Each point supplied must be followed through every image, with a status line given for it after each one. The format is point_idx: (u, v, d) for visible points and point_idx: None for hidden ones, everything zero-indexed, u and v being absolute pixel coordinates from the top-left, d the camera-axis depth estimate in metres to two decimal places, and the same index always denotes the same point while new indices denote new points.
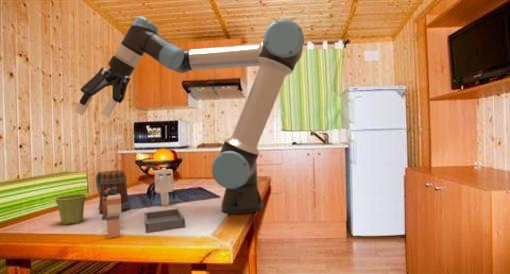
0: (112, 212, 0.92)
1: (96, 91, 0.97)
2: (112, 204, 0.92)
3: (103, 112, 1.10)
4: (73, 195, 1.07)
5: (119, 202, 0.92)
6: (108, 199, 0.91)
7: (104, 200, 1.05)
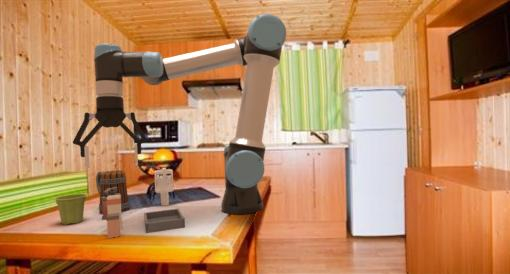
0: (112, 212, 0.92)
1: (87, 138, 0.90)
2: (112, 204, 0.92)
3: None
4: (73, 195, 1.07)
5: (119, 202, 0.92)
6: (108, 199, 0.91)
7: (104, 200, 1.05)
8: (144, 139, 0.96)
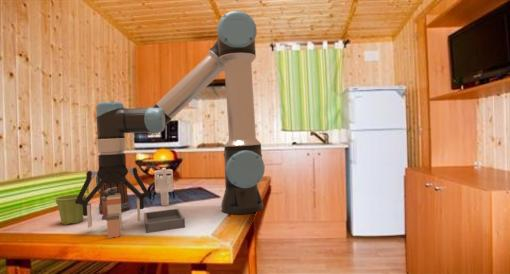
0: (112, 212, 0.92)
1: (89, 196, 0.90)
2: (112, 204, 0.92)
3: None
4: (73, 195, 1.07)
5: (119, 202, 0.92)
6: (108, 199, 0.91)
7: (104, 200, 1.05)
8: (146, 194, 0.96)
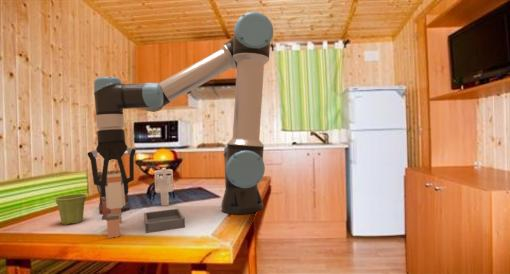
0: (112, 190, 0.92)
1: (103, 177, 0.91)
2: (112, 182, 0.92)
3: None
4: (73, 195, 1.07)
5: (119, 180, 0.92)
6: (108, 177, 0.91)
7: (104, 200, 1.05)
8: (131, 178, 0.94)
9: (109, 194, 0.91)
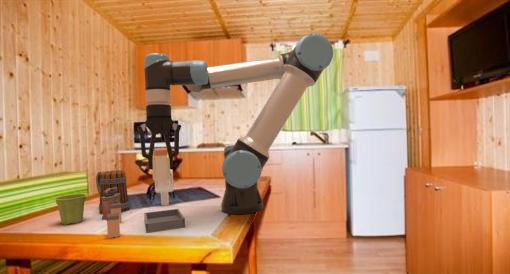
0: (159, 163, 0.95)
1: (151, 150, 0.95)
2: (159, 155, 0.95)
3: None
4: (73, 195, 1.07)
5: (166, 153, 0.96)
6: (156, 150, 0.95)
7: (104, 200, 1.05)
8: (176, 153, 0.97)
9: (156, 166, 0.95)
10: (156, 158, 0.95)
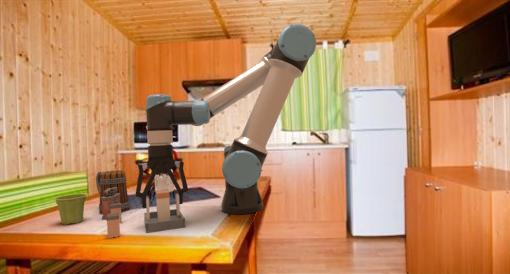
0: (161, 205, 0.95)
1: (146, 189, 0.94)
2: (162, 198, 0.95)
3: (176, 211, 0.99)
4: (73, 195, 1.07)
5: (168, 196, 0.96)
6: (158, 193, 0.95)
7: (104, 200, 1.05)
8: (186, 189, 0.98)
9: (158, 209, 0.95)
10: (158, 201, 0.95)
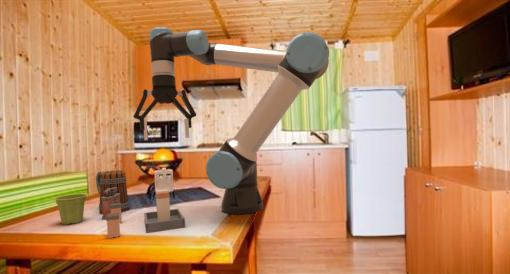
0: (161, 205, 0.95)
1: (146, 112, 1.00)
2: (162, 198, 0.95)
3: (185, 135, 1.07)
4: (73, 195, 1.07)
5: (168, 196, 0.96)
6: (158, 193, 0.95)
7: (104, 200, 1.05)
8: (194, 114, 1.07)
9: (158, 209, 0.95)
10: (158, 201, 0.95)
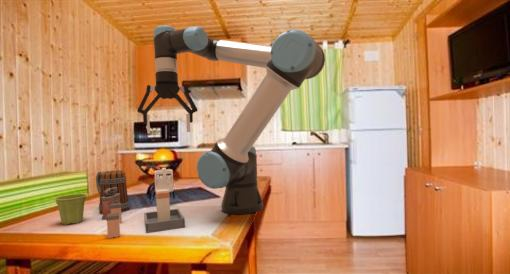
0: (161, 205, 0.95)
1: (148, 107, 1.05)
2: (162, 198, 0.95)
3: (187, 130, 1.11)
4: (73, 195, 1.07)
5: (168, 196, 0.96)
6: (158, 193, 0.95)
7: (104, 200, 1.05)
8: (195, 109, 1.11)
9: (158, 209, 0.95)
10: (158, 201, 0.95)
